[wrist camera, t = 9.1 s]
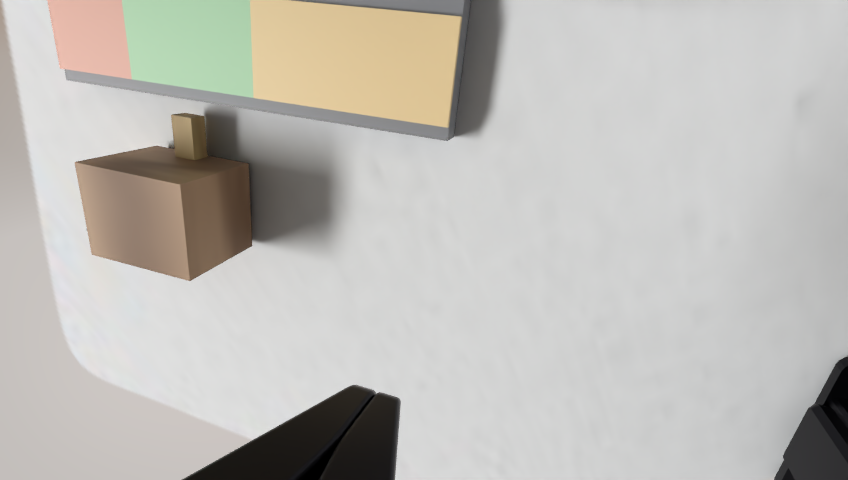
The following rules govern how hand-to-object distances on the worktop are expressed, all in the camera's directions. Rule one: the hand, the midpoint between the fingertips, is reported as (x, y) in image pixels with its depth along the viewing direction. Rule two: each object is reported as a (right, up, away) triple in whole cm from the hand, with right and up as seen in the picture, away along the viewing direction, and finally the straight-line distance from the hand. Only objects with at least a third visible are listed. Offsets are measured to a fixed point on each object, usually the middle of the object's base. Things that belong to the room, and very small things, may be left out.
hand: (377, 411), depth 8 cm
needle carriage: (-10, +5, +14) cm, 18 cm away
